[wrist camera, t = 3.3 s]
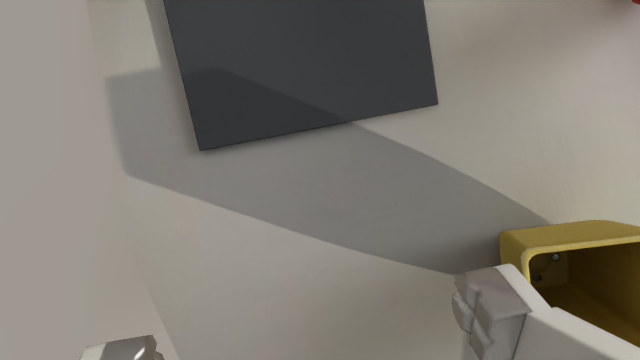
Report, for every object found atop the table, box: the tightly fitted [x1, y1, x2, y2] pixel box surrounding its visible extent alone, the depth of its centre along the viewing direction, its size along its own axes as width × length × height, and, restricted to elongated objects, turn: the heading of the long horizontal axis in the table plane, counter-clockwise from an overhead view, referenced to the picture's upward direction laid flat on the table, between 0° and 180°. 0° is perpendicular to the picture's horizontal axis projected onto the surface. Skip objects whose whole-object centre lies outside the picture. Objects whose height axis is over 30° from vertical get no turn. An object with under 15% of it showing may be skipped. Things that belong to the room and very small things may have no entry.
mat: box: [163, 0, 438, 151], centre depth 31 cm, size 20×14×1 cm
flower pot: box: [499, 220, 640, 348], centre depth 28 cm, size 9×9×9 cm
